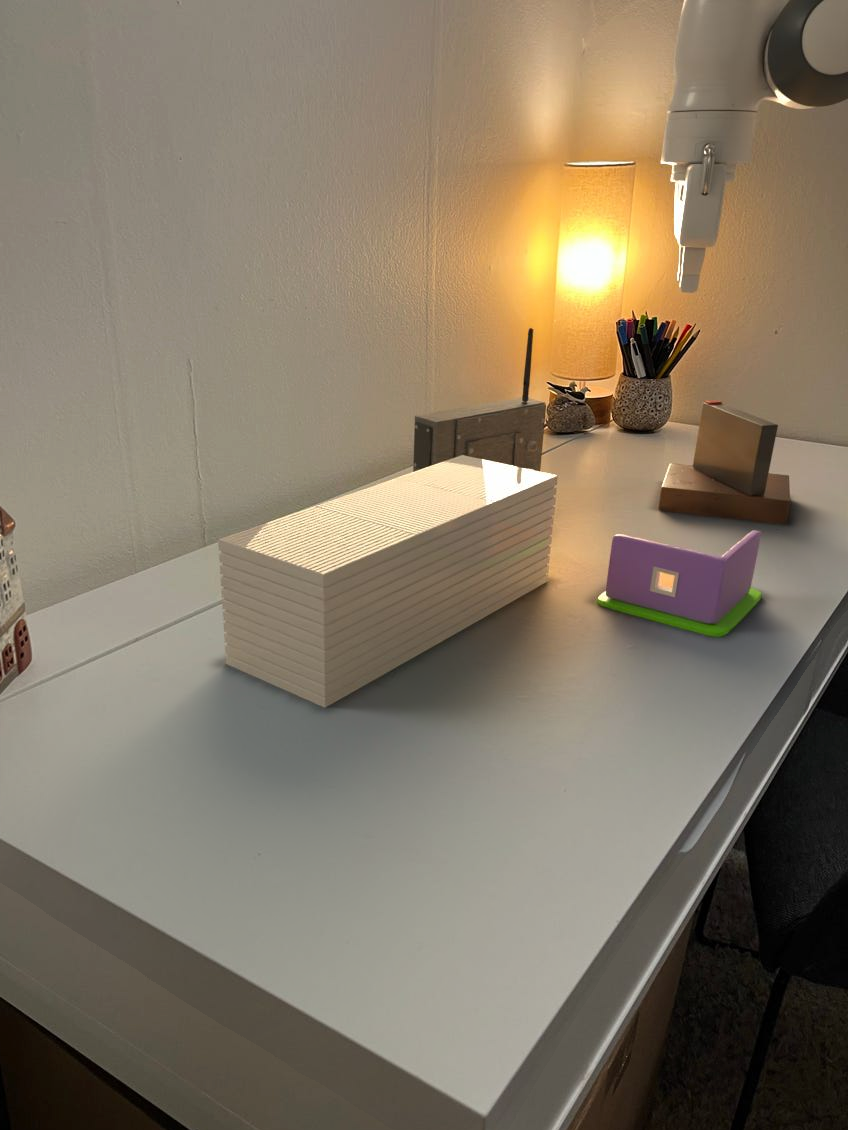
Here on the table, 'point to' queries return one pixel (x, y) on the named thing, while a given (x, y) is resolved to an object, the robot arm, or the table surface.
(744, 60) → the robot arm
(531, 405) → the electronic device
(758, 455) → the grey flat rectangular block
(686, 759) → the table surface
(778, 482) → the stand
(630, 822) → the table surface
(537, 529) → the stack of papers
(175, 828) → the table surface
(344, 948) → the table surface
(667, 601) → the miniature room corner
